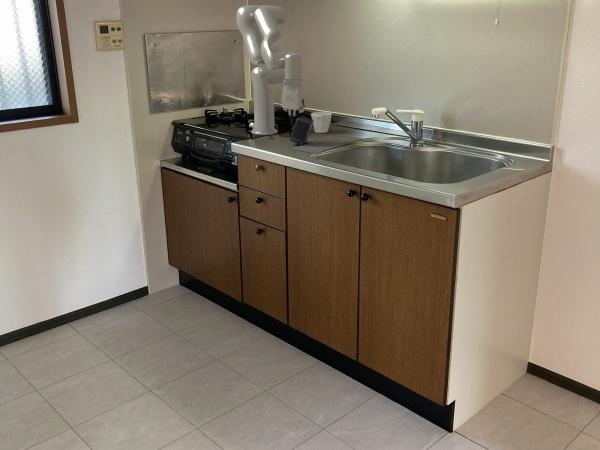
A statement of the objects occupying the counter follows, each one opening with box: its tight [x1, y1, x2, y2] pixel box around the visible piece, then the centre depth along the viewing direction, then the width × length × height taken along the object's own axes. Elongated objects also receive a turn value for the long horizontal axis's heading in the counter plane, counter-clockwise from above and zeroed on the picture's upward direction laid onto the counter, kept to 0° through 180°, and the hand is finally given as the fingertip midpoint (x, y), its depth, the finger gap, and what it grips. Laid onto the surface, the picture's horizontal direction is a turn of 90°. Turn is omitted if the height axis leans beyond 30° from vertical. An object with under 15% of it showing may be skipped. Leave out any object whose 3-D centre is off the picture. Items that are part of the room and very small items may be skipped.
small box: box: [289, 115, 314, 146], centre depth 277 cm, size 11×6×10 cm, turn 168°
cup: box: [310, 111, 333, 134], centre depth 303 cm, size 10×10×9 cm
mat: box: [290, 140, 346, 155], centre depth 273 cm, size 14×22×1 cm, turn 143°
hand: (293, 124), depth 278 cm, fingers closed
